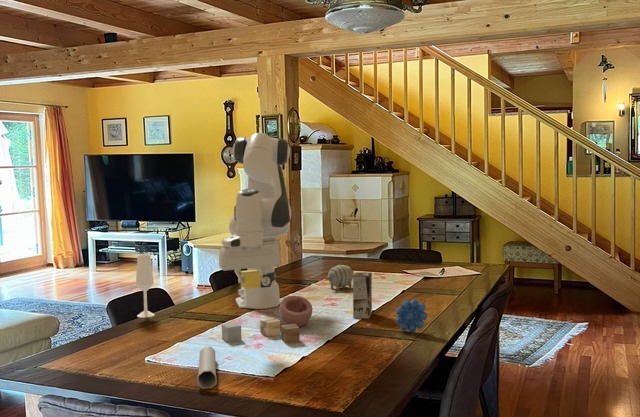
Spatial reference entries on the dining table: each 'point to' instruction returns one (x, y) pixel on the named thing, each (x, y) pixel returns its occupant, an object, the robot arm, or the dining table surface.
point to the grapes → (411, 315)
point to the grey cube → (231, 332)
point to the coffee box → (362, 295)
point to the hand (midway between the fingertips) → (250, 281)
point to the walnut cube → (290, 333)
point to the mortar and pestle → (295, 310)
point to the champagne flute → (144, 279)
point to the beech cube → (270, 326)
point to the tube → (207, 368)
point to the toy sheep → (340, 276)
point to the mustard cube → (251, 279)
